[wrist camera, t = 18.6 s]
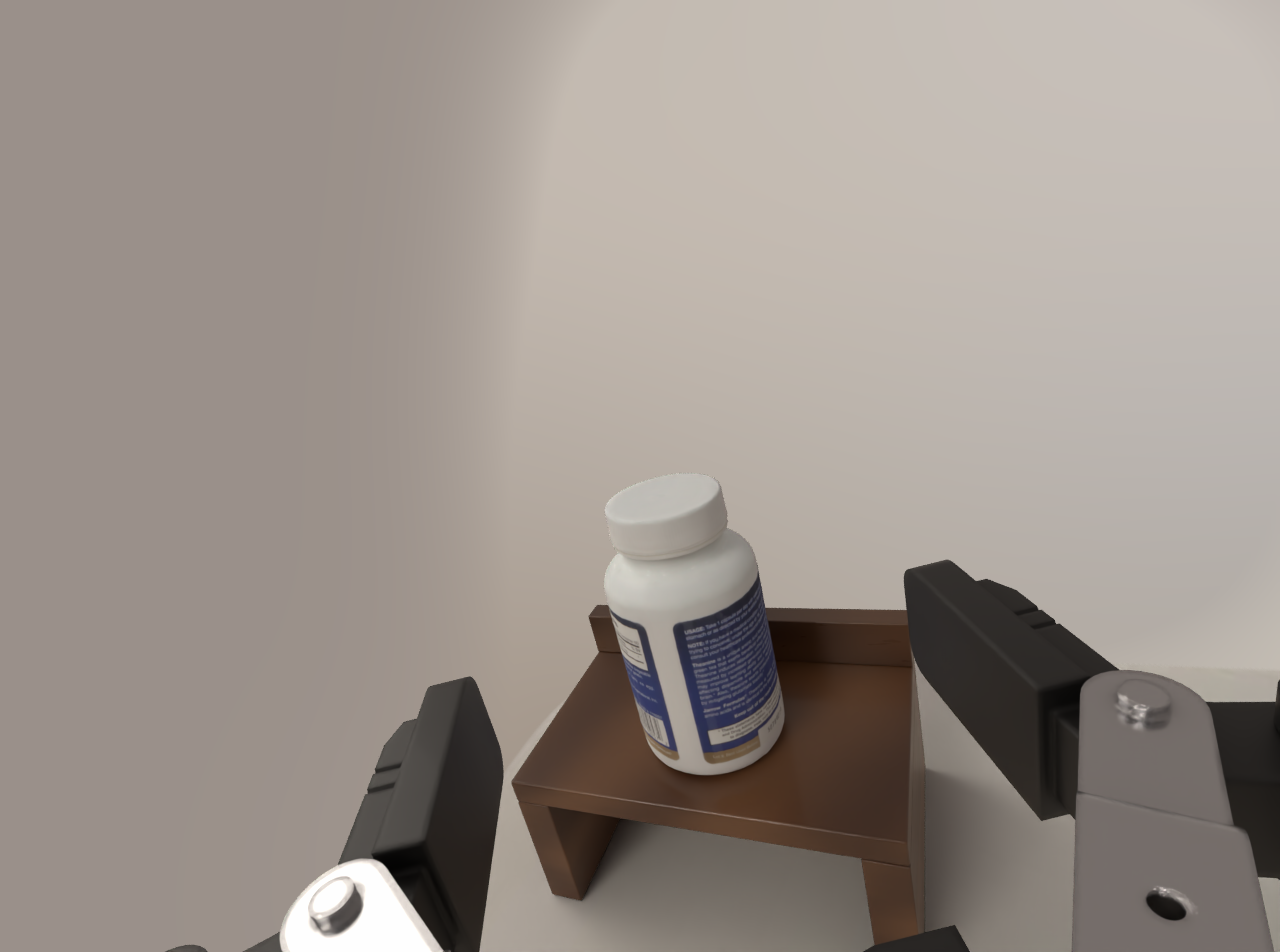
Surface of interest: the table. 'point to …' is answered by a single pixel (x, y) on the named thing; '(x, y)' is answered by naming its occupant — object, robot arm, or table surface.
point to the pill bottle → (692, 626)
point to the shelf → (771, 786)
